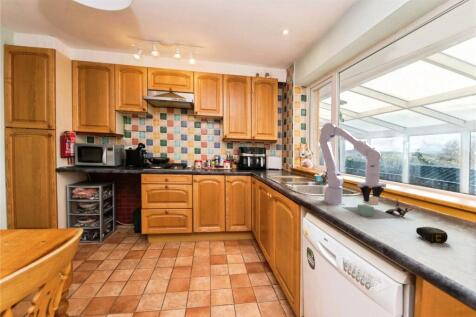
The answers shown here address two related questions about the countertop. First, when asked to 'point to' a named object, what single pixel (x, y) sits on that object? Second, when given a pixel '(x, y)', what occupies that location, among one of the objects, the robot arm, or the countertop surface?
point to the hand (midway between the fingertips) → (370, 201)
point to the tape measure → (432, 234)
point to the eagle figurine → (399, 209)
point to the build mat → (376, 214)
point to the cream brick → (372, 200)
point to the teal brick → (365, 210)
